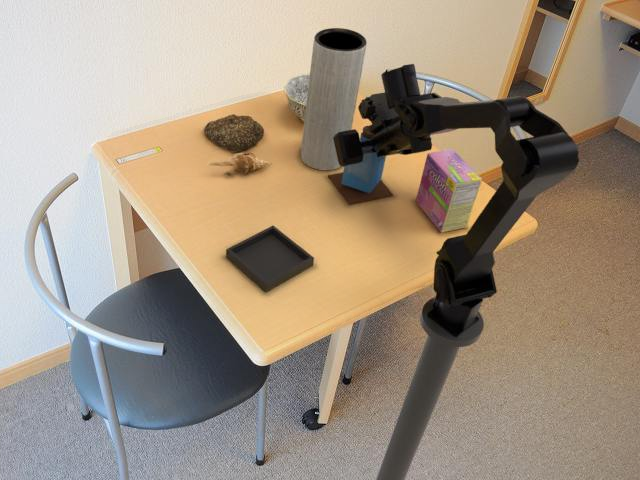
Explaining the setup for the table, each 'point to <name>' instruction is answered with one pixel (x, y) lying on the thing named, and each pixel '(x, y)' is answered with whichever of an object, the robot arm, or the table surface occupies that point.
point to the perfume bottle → (364, 169)
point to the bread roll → (234, 132)
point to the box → (448, 190)
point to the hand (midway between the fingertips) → (363, 151)
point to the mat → (359, 191)
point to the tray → (269, 258)
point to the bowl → (297, 94)
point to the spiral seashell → (242, 162)
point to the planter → (331, 94)
